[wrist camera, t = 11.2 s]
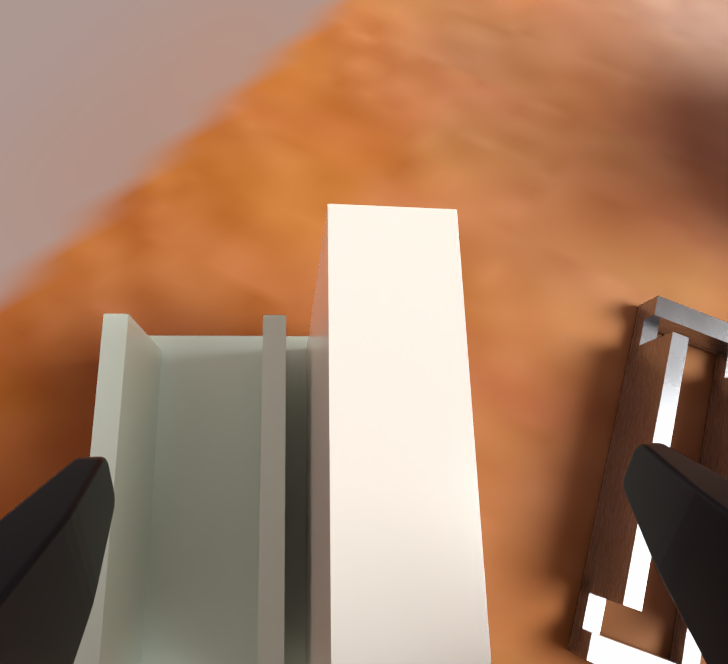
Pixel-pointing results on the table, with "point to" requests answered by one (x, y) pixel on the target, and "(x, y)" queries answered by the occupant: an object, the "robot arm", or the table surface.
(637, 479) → the robot arm
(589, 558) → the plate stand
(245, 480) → the dish rack
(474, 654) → the white block
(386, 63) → the table surface
